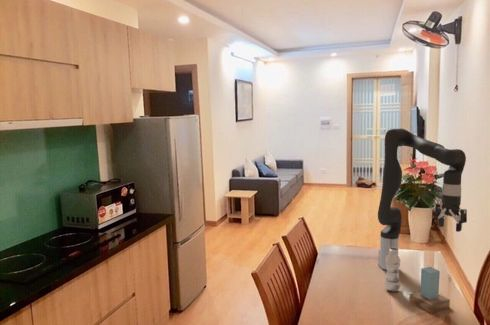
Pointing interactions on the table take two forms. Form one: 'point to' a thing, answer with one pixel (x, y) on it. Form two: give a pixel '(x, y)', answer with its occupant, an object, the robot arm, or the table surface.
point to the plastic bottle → (392, 270)
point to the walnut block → (429, 302)
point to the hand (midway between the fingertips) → (449, 228)
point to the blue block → (429, 283)
